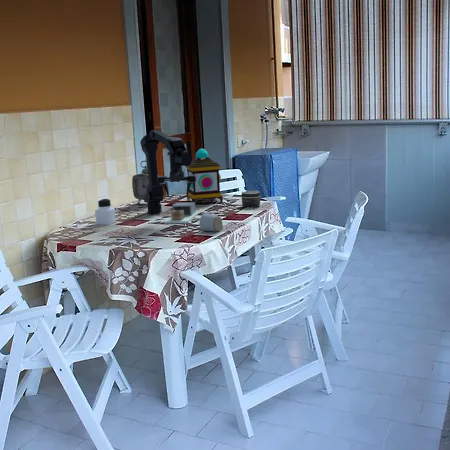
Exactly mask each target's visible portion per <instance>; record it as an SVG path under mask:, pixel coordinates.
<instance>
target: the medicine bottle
mask: <svg viewBox="0 0 450 450" xmlns="http://www.w3.org/2000/svg"><path fill="white" fill-rule="evenodd" d="M115 211H116V210H115V207H112V204H111V200H110V198H101V199H98V200H97V209H95V210H94V215H95V224H96V225H97V226H99V225H100V226H101V225H102V226H110V225H112V224H114V223H116V212H115Z"/></svg>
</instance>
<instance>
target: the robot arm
mask: <svg viewBox="0 0 450 450" xmlns="http://www.w3.org/2000/svg"><path fill="white" fill-rule="evenodd" d="M159 144H162V145H165V146H164V148H165V149H166V150H168V152H167V155H168V156H169V169H170V170H169V177H167V175H159V174H158V167H157V165H158V164H157V158H156V153H157V151H158V147H159V146H158V145H159ZM140 147H141V150H142V152H143V153H144V155H145V161H146V162H145V163H146V167H147V171H148V179H149V184H148V186H147V188H146V195H145V197H144V200H143V202H144V203H145V204H146V206H147V208H146V209H147V213H146V215H160V214H161V213H162V212H163V208H162V203H161V202H163V200H164V191H165V193H166V196H167V198H170V191H169V185H168V182H171V183H176V182H177V183H179V182H181V181H185V182H186V180H187V181H188V182H187V183H186V197H187V196H188V193H189V189H190V186H191V184H193V183H194V182H196V180H197V178H196V175H188V174H187V176H185V172H184V170H183V167H186V166H189V165H190V164H191V163H192V160H193V158H192V156H191V155H190V154H189V151H188V150H187V147H186V146H185V143H184V142H183V140H182V138H180V137H175V136H174V137H173V136H170V135H168V134H167V133H164V132H162V131H161V130H159V129H155V130H152V129H151V130H150V131H149V132H148V133H147V134H146V135H144V136H143V137H142V138H141V139H140ZM158 175H159V177H158ZM159 183H160V184H159Z"/></svg>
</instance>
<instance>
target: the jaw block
mask: <svg viewBox="0 0 450 450" xmlns="http://www.w3.org/2000/svg"><path fill="white" fill-rule="evenodd" d="M171 215H172V220H183V219H184V210H174V211H173V210H172V211H171Z"/></svg>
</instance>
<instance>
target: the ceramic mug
mask: <svg viewBox="0 0 450 450" xmlns="http://www.w3.org/2000/svg"><path fill="white" fill-rule="evenodd" d="M199 228H200V229H201V230H202V231H207V232H215V233H216V232H219V231H220V230H222V229H223V228H224V224H223V219H222V217H221V216H219V215H216V214H209V213H203V214H202V215H201V216H200V219H199Z"/></svg>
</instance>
